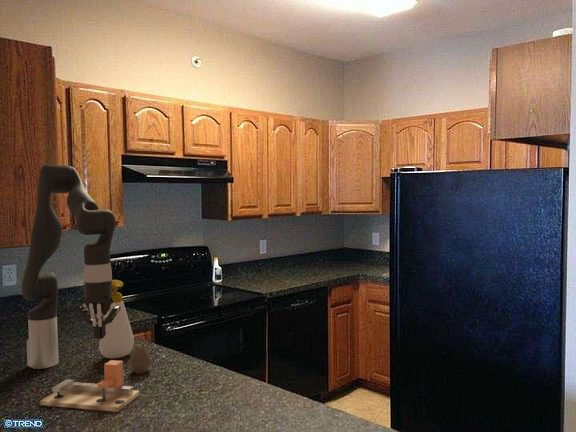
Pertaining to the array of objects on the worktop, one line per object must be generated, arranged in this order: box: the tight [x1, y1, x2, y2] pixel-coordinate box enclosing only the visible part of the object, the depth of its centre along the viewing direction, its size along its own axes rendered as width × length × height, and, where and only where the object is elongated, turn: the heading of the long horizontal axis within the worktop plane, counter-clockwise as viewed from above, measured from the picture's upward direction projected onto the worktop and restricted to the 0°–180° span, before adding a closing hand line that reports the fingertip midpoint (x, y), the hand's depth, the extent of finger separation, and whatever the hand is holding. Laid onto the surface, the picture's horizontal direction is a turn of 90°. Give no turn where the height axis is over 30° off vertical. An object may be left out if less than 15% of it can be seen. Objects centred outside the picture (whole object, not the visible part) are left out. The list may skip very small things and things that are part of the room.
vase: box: [129, 344, 152, 374], centre depth 168 cm, size 7×7×9 cm
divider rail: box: [51, 378, 134, 397], centre depth 146 cm, size 23×8×3 cm, turn 78°
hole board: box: [39, 389, 141, 413], centre depth 146 cm, size 25×12×1 cm, turn 78°
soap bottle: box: [98, 279, 135, 360], centre depth 183 cm, size 13×10×29 cm
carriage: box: [96, 359, 125, 400], centre depth 145 cm, size 4×8×9 cm, turn 168°
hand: (100, 338), depth 142 cm, fingers closed
